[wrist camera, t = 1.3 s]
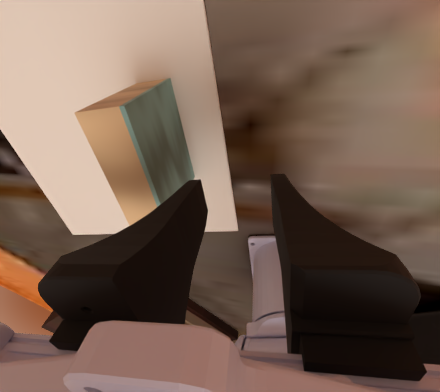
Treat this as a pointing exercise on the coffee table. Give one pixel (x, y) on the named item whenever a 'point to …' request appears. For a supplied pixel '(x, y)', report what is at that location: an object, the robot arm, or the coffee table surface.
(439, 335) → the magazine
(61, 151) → the mat
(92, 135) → the tile
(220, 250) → the coffee table surface
